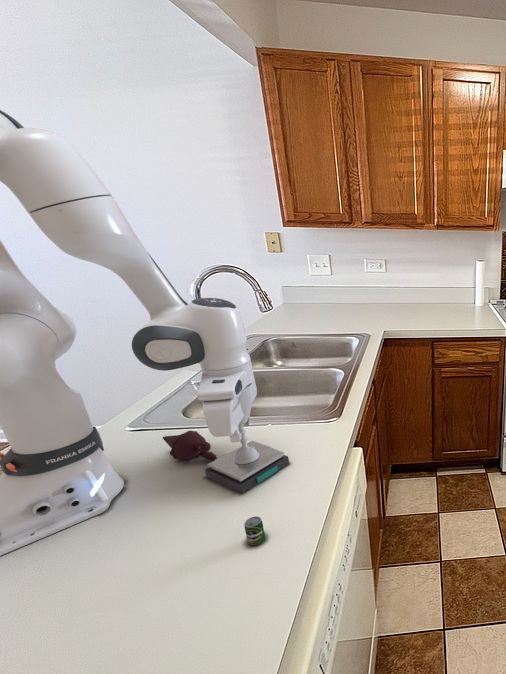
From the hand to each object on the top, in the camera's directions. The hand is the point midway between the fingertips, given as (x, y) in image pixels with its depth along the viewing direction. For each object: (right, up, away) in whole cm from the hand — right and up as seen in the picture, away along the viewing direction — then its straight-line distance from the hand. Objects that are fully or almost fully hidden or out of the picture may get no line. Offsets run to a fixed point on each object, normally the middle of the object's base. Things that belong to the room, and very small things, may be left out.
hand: (241, 432), depth 88 cm
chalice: (0, -6, +2) cm, 7 cm away
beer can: (+12, -17, -15) cm, 26 cm away
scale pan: (0, -7, +3) cm, 7 cm away
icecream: (-17, -8, +8) cm, 20 cm away
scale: (0, -9, +4) cm, 10 cm away
